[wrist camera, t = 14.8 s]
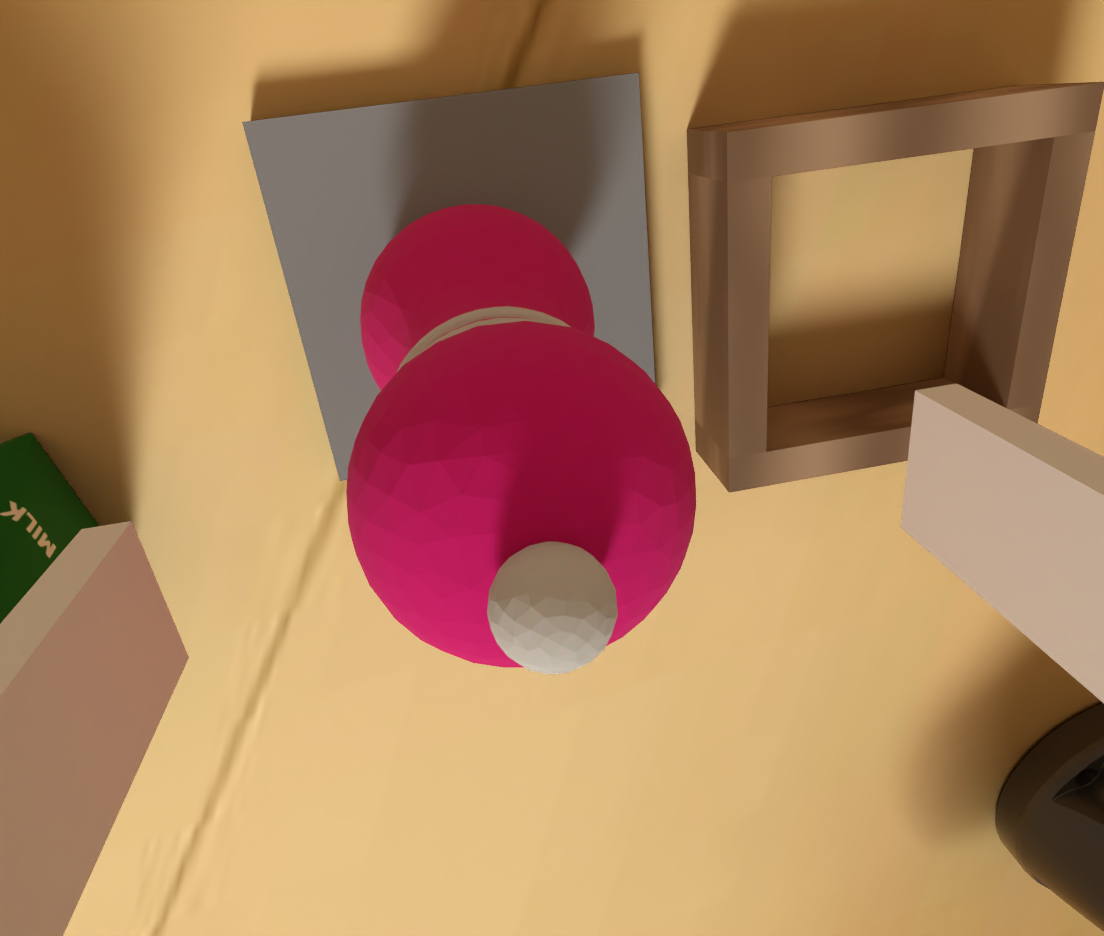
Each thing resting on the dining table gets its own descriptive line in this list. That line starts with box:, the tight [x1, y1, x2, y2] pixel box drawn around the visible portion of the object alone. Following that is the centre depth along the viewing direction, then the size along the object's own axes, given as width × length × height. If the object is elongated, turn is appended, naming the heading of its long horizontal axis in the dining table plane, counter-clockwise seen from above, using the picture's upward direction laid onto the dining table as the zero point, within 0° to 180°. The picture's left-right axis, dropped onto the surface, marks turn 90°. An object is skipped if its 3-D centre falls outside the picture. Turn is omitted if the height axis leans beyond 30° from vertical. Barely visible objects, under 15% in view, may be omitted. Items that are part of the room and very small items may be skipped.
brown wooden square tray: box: [687, 82, 1104, 492], centre depth 29 cm, size 13×13×4 cm
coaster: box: [242, 73, 655, 481], centre depth 28 cm, size 13×13×1 cm
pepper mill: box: [347, 204, 696, 674], centre depth 18 cm, size 7×7×20 cm
